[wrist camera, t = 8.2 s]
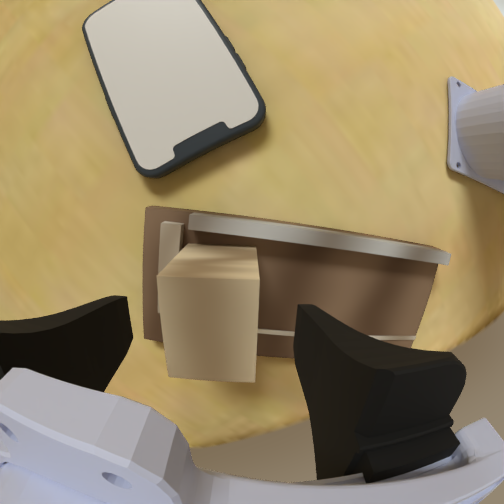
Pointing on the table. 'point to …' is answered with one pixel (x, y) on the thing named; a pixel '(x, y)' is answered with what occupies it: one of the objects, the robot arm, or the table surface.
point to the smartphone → (170, 81)
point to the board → (302, 274)
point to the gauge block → (210, 312)
